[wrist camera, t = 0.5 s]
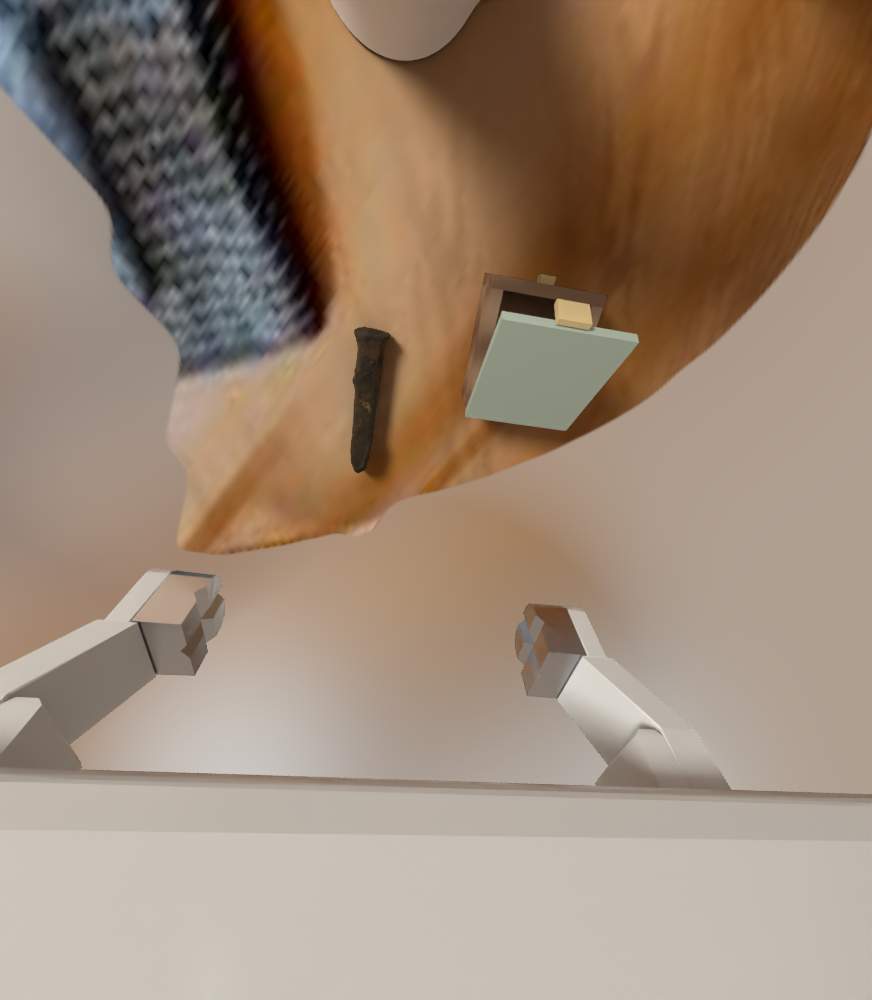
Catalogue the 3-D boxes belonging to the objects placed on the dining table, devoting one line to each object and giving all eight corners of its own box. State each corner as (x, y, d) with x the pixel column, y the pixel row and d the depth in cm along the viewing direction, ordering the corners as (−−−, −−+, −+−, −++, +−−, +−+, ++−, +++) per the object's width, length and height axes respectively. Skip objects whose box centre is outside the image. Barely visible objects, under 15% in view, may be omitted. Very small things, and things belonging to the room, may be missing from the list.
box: (486, 264, 43) (496, 265, 38) (586, 283, 45) (610, 286, 39) (461, 394, 51) (467, 410, 45) (547, 406, 52) (563, 423, 47)
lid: (504, 288, 33) (505, 311, 31) (639, 313, 34) (644, 336, 33) (465, 398, 46) (465, 417, 45) (563, 412, 47) (565, 430, 46)
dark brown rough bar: (358, 322, 46) (352, 328, 42) (391, 330, 47) (388, 336, 43) (341, 461, 56) (335, 476, 52) (369, 466, 56) (365, 481, 52)
